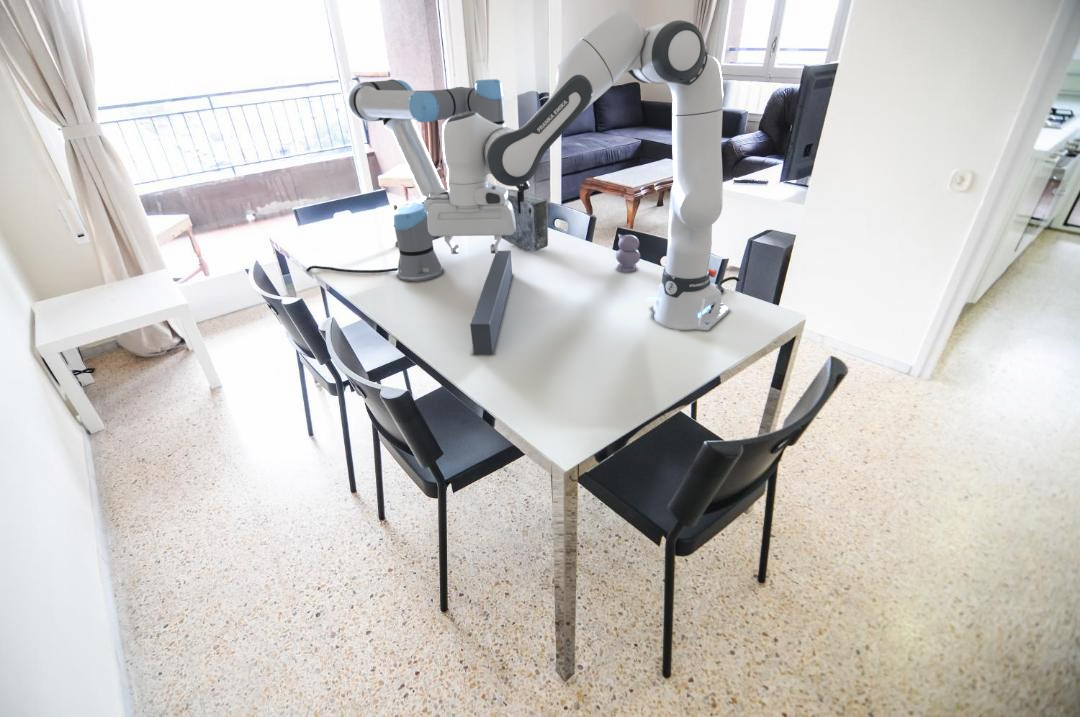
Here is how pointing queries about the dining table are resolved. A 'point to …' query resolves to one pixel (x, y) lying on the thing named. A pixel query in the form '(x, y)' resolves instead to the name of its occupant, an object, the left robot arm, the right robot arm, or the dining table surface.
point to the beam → (491, 304)
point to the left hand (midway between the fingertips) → (498, 212)
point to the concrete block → (529, 222)
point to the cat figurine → (627, 253)
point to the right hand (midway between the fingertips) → (474, 253)
